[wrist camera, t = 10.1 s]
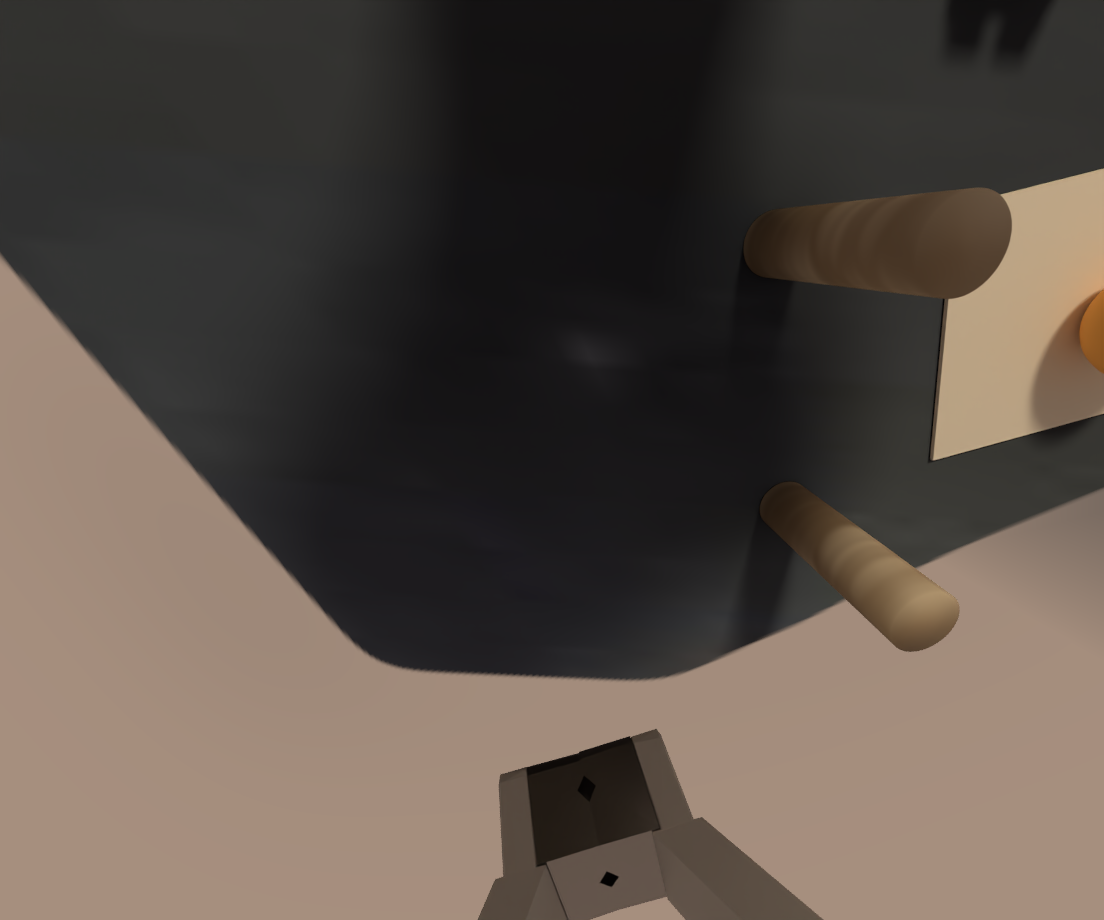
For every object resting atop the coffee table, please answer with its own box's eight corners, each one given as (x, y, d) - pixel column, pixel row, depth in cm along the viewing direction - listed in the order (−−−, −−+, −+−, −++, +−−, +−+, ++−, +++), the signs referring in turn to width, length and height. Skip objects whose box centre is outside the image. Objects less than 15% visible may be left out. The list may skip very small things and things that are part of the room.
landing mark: (953, 206, 22) (957, 206, 22) (1211, 141, 22) (1217, 140, 22) (930, 459, 27) (933, 460, 26) (1142, 400, 27) (1146, 401, 27)
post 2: (758, 489, 26) (892, 604, 18) (807, 475, 26) (962, 583, 18) (760, 532, 27) (888, 659, 19) (807, 519, 27) (955, 640, 19)
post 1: (741, 217, 21) (919, 201, 12) (802, 202, 21) (1019, 176, 13) (745, 284, 22) (912, 309, 14) (803, 269, 22) (1003, 285, 14)
